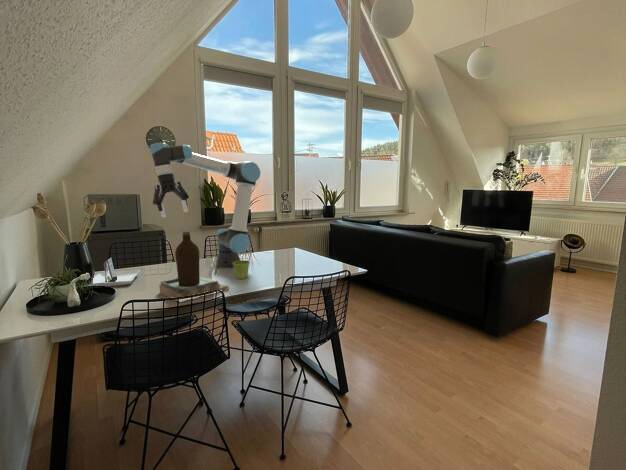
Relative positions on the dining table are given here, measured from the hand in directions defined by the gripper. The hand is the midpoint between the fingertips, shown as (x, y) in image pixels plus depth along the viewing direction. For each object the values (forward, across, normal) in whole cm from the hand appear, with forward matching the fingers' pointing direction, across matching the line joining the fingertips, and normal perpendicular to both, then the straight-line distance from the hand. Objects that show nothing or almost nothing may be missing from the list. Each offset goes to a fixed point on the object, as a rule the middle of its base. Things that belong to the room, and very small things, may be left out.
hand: (175, 214), depth 179 cm
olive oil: (+33, +15, +18) cm, 40 cm away
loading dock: (+37, +13, +18) cm, 43 cm away
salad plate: (+29, +24, -30) cm, 49 cm away
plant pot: (+41, -16, +20) cm, 48 cm away
